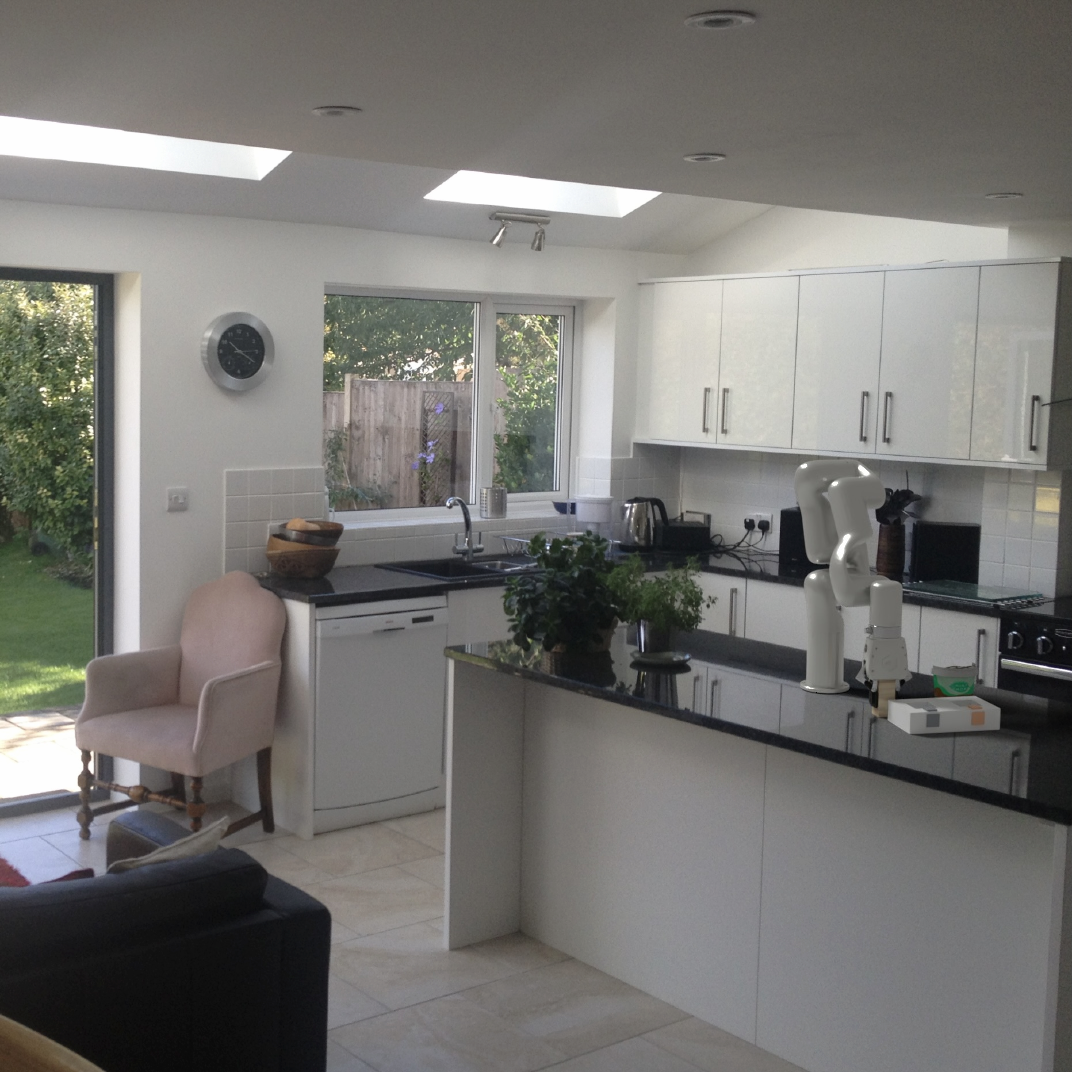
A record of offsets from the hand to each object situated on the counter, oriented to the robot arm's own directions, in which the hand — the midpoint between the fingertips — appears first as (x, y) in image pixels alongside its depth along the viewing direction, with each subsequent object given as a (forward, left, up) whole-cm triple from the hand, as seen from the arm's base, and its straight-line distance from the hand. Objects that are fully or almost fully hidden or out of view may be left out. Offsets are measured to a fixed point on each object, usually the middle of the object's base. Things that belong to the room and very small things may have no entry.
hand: (883, 705), depth 308 cm
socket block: (+11, +10, -2) cm, 15 cm away
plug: (0, 0, -2) cm, 2 cm away
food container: (-5, +22, -3) cm, 23 cm away
